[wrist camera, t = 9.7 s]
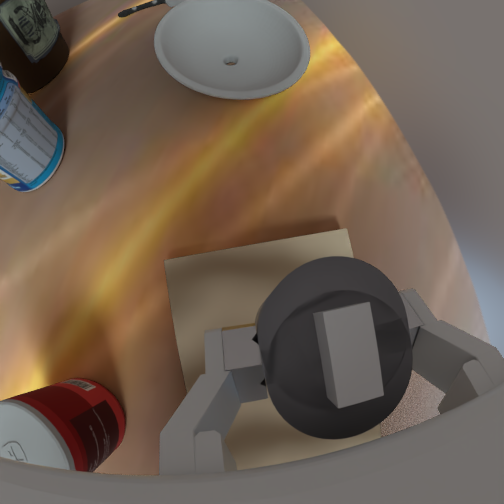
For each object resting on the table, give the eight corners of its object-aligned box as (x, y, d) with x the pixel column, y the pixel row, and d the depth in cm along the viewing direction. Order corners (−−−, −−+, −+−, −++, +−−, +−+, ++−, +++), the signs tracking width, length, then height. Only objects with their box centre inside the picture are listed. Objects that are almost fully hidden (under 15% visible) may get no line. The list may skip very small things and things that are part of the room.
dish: (144, 48, 31) (134, 19, 26) (250, 9, 33) (251, -20, 28) (204, 154, 29) (197, 125, 24) (332, 99, 30) (344, 69, 25)
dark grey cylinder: (323, 281, 15) (410, 234, 6) (338, 370, 14) (438, 423, 6) (248, 295, 15) (245, 263, 6) (264, 386, 14) (282, 471, 5)
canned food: (42, 397, 24) (-31, 422, 13) (95, 360, 25) (20, 380, 14) (87, 462, 23) (29, 512, 12) (145, 432, 24) (94, 488, 13)
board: (376, 446, 24) (382, 452, 23) (213, 481, 23) (211, 489, 22) (341, 232, 28) (346, 228, 26) (168, 262, 27) (163, 260, 25)
